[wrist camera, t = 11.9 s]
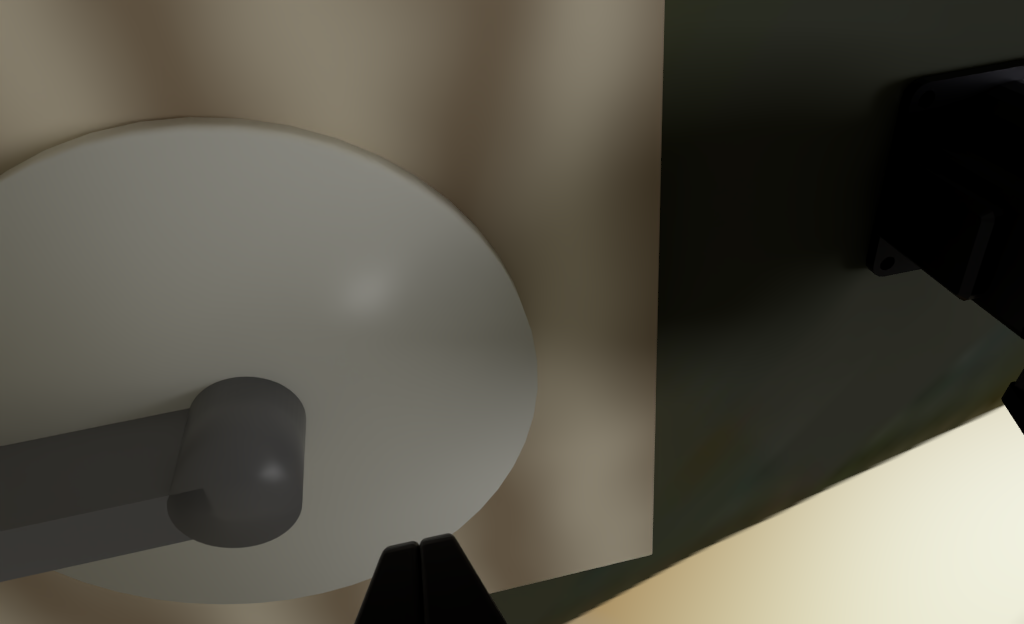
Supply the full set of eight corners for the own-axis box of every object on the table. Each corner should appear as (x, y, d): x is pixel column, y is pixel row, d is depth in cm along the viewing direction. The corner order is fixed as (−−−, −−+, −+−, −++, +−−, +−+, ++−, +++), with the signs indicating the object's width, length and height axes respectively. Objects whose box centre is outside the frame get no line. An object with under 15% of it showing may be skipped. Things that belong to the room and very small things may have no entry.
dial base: (643, -170, 16) (671, -169, 15) (639, 524, 30) (653, 557, 29) (-594, -10, 13) (-694, 11, 12) (31, 667, 27) (16, 710, 26)
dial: (500, 64, 17) (540, 124, 13) (547, 516, 26) (578, 617, 23) (-400, 207, 15) (-609, 320, 11) (2, 641, 24) (-50, 771, 21)
